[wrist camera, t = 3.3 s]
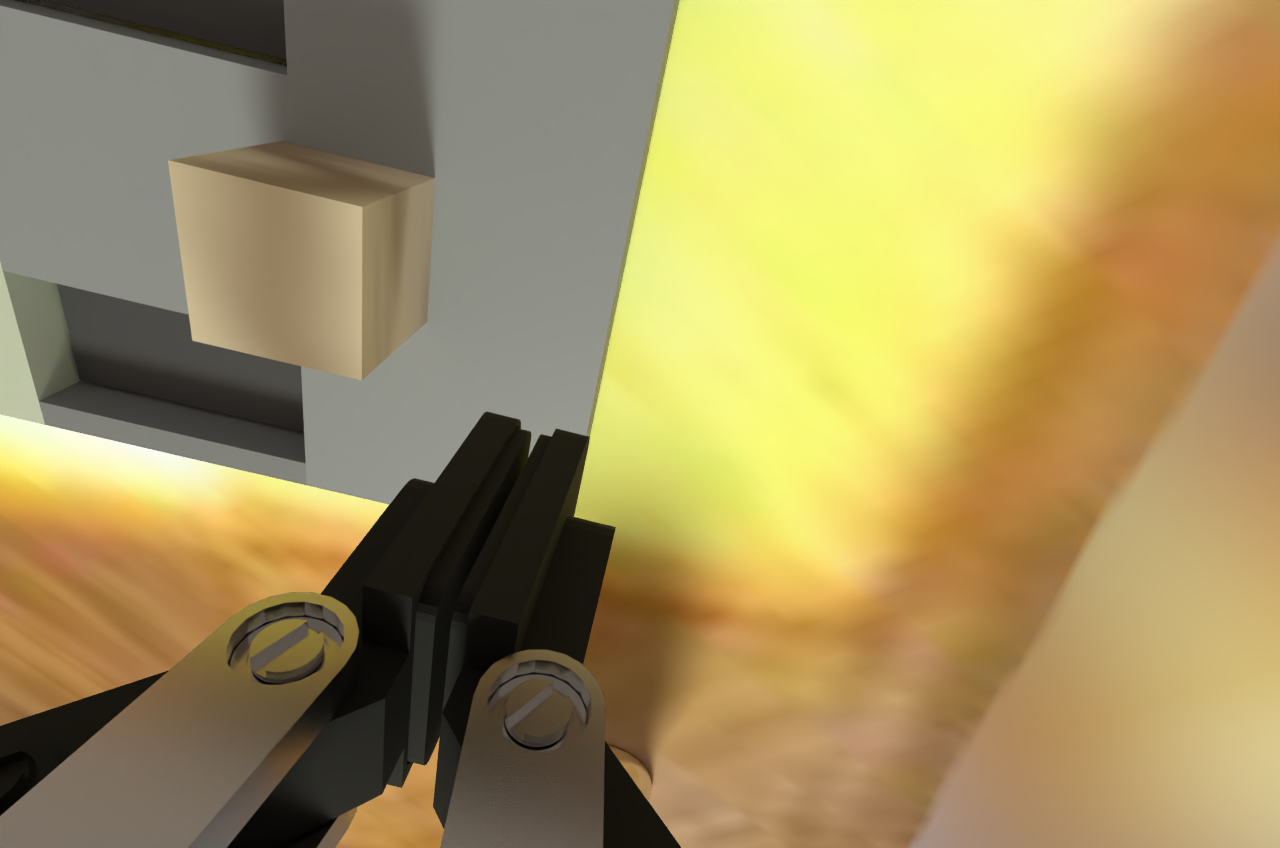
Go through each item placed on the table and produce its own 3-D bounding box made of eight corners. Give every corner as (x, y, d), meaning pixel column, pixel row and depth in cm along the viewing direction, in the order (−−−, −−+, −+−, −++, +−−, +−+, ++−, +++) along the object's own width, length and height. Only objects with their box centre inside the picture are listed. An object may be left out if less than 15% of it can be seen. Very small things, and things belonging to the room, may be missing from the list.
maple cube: (289, 289, 21) (192, 340, 17) (281, 140, 19) (167, 159, 15) (427, 321, 21) (361, 380, 17) (435, 178, 19) (362, 206, 15)
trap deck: (-109, 354, 26) (-168, 375, 24) (-386, -363, 16) (-517, -414, 15) (573, 513, 27) (564, 544, 25) (697, -89, 17) (696, -107, 15)
